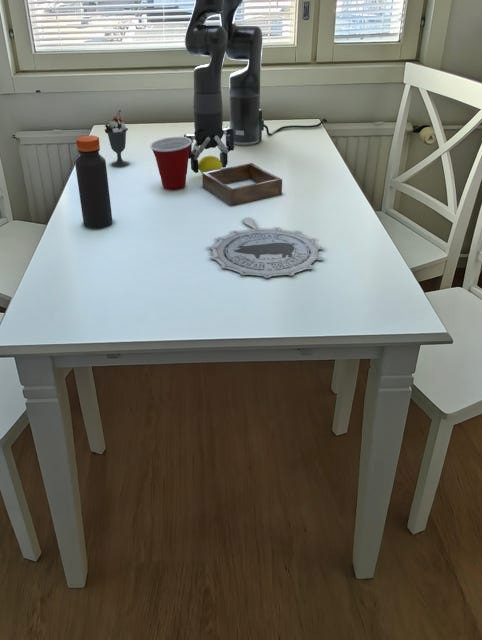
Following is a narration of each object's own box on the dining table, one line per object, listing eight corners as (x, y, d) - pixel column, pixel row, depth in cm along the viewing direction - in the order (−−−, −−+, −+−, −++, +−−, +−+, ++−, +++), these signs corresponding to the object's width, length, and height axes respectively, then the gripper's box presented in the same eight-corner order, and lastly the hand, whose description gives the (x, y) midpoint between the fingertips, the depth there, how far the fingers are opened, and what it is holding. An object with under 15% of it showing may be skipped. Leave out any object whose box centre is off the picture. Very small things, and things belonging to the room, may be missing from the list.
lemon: (221, 171, 178) (220, 152, 175) (223, 177, 173) (223, 158, 170) (196, 172, 177) (195, 153, 174) (198, 179, 173) (197, 159, 170)
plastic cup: (152, 180, 173) (149, 136, 166) (192, 178, 173) (190, 134, 167) (153, 195, 164) (149, 149, 157) (194, 193, 164) (193, 146, 158)
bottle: (78, 223, 150) (66, 138, 139) (103, 215, 153) (93, 132, 142) (92, 232, 145) (80, 145, 134) (118, 224, 149) (108, 138, 138)
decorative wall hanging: (339, 272, 125) (301, 214, 150) (339, 271, 125) (301, 213, 150) (217, 282, 123) (199, 222, 148) (217, 281, 123) (199, 221, 148)
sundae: (133, 160, 188) (128, 108, 180) (128, 168, 182) (123, 114, 174) (111, 160, 188) (105, 108, 180) (106, 168, 183) (100, 114, 175)
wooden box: (251, 177, 173) (251, 162, 171) (281, 194, 162) (282, 179, 160) (202, 187, 168) (202, 172, 165) (230, 206, 156) (230, 190, 154)
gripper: (189, 116, 160) (192, 178, 169) (238, 108, 166) (238, 168, 174) (177, 109, 166) (180, 170, 175) (225, 102, 171) (225, 161, 180)
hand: (209, 169), depth 175 cm, fingers open, 8 cm apart
